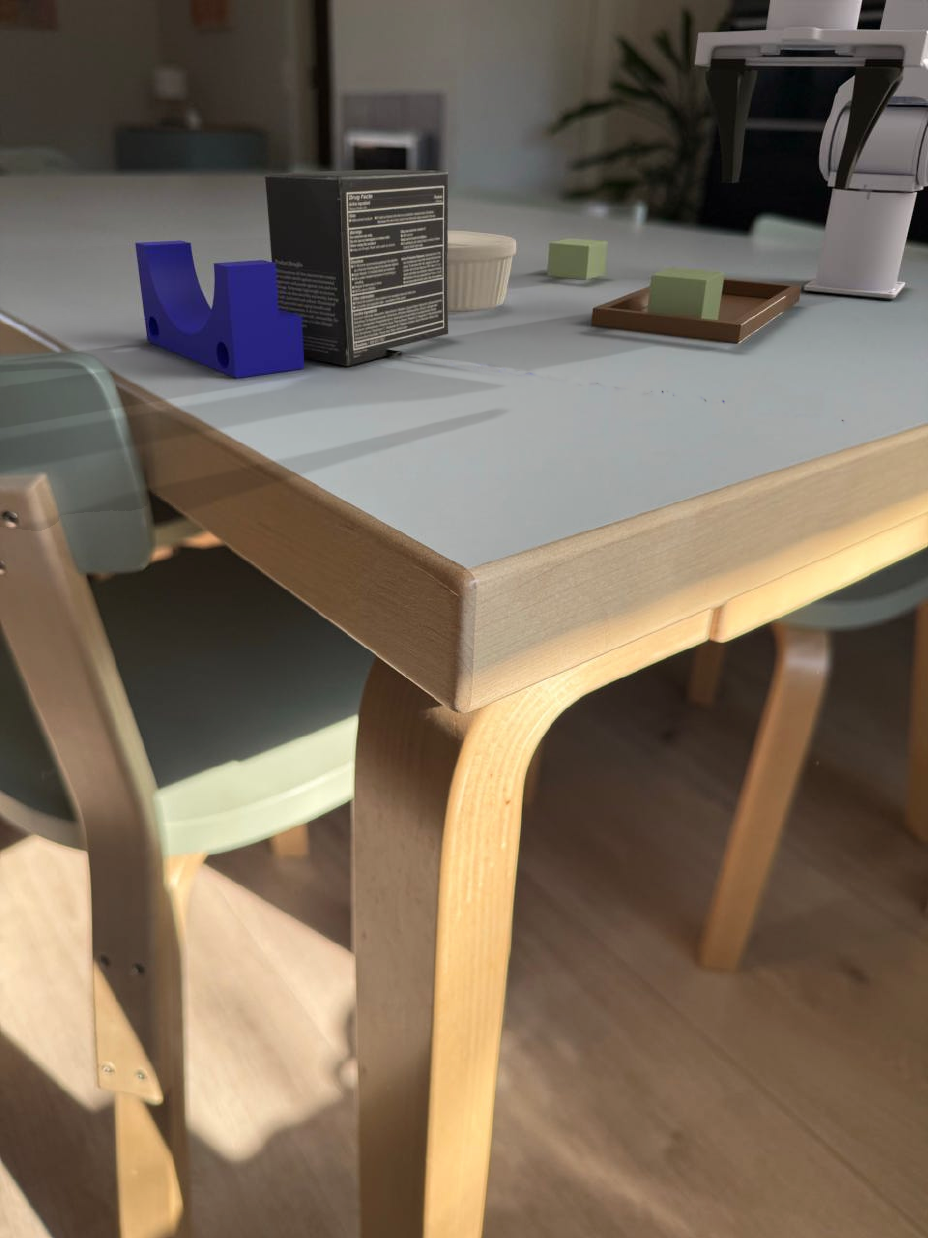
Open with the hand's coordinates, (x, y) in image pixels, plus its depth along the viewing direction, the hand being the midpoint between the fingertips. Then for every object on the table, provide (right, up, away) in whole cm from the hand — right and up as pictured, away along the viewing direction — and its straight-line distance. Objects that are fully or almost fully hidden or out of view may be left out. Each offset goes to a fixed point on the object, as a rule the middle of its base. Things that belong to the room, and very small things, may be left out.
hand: (784, 185), depth 67 cm
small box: (-29, -13, -5) cm, 32 cm away
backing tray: (-4, -7, +8) cm, 11 cm away
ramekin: (-24, -6, +9) cm, 27 cm away
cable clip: (-38, -14, -8) cm, 41 cm away
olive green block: (-12, +2, +25) cm, 27 cm away
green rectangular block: (-7, -9, +3) cm, 11 cm away
